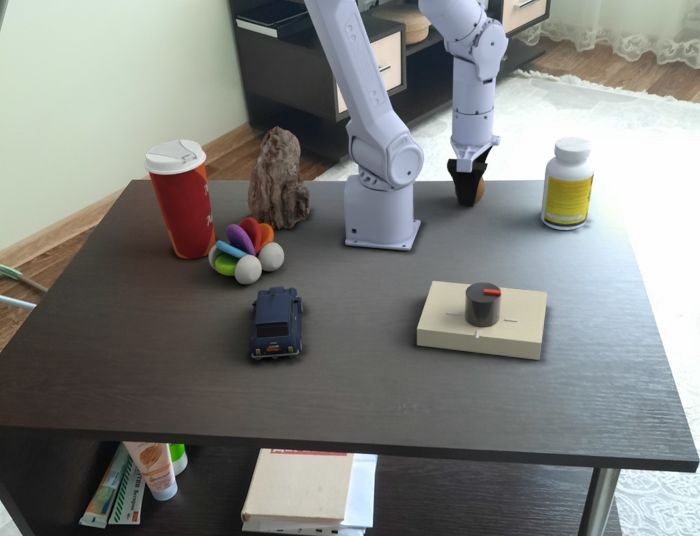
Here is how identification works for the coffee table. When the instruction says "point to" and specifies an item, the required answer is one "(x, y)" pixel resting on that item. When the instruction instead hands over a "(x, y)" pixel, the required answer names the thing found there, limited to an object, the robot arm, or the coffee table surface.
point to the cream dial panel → (499, 339)
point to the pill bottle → (568, 185)
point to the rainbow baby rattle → (247, 251)
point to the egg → (480, 190)
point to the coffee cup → (183, 195)
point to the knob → (482, 304)
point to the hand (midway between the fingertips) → (469, 195)
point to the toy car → (276, 323)
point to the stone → (278, 182)
